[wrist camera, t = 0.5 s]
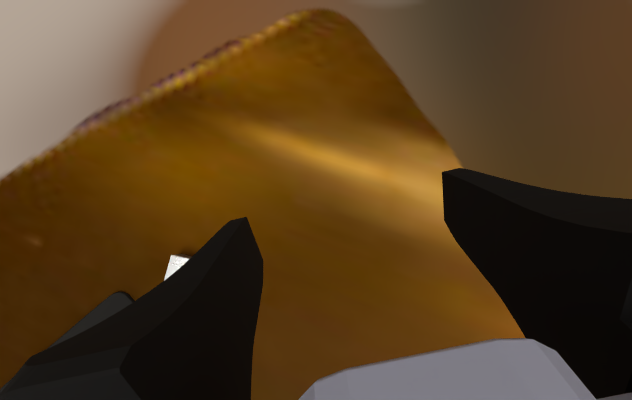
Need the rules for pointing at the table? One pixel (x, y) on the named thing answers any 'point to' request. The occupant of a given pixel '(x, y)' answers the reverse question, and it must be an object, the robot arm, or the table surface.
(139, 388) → the robot arm
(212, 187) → the table surface
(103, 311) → the phone
